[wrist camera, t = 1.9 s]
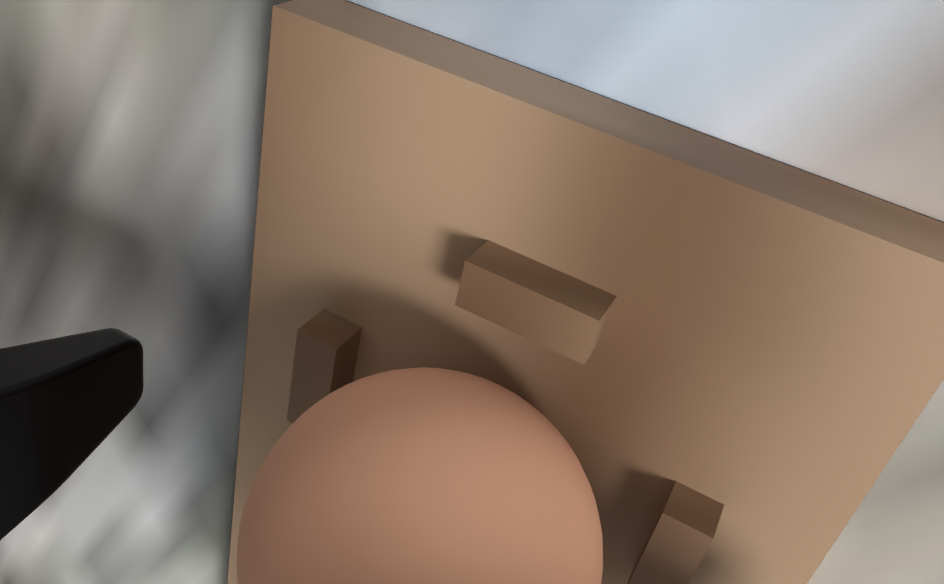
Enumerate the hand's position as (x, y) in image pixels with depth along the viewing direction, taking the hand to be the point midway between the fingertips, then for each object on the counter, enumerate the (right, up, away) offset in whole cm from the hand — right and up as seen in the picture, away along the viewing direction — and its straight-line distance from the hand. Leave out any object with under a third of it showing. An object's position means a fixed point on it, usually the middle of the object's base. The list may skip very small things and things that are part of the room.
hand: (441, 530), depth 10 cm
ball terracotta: (0, 0, 0) cm, 0 cm away
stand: (0, -2, +5) cm, 5 cm away
